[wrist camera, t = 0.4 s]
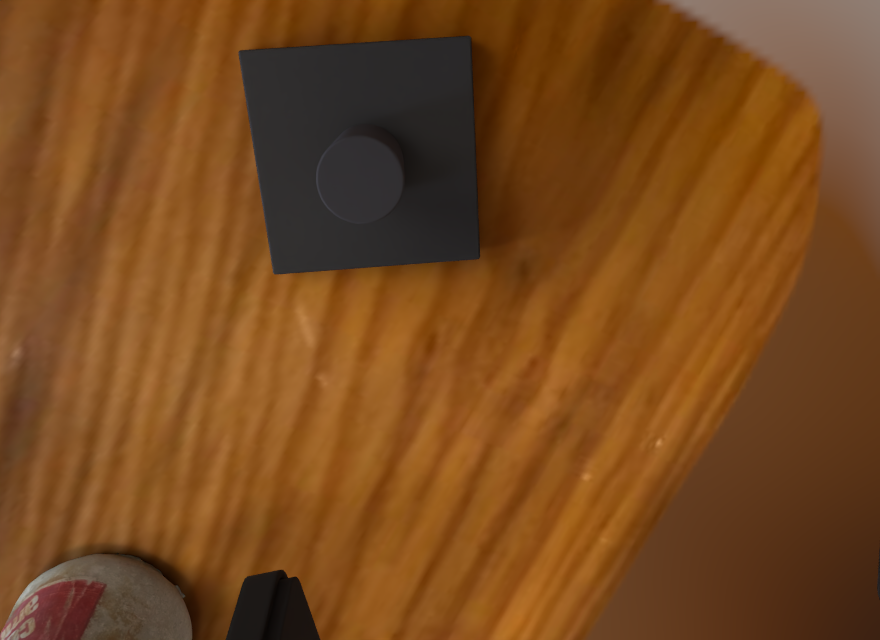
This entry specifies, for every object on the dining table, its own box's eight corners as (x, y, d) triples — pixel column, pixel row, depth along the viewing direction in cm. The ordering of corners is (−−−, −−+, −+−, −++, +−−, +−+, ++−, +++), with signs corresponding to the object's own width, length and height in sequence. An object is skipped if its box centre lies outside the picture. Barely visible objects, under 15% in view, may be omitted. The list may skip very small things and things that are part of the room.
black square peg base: (244, 51, 26) (201, 45, 20) (468, 36, 27) (487, 27, 21) (277, 267, 30) (248, 315, 24) (477, 252, 30) (496, 296, 24)
